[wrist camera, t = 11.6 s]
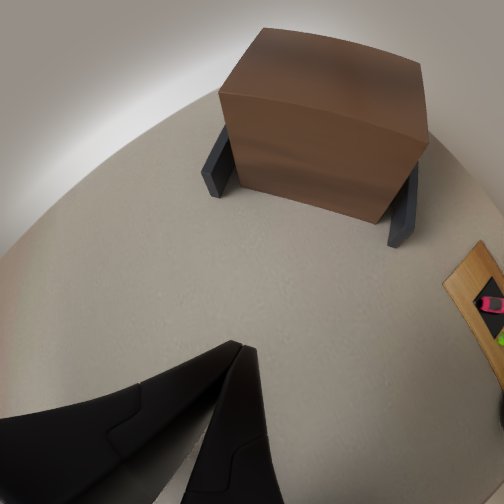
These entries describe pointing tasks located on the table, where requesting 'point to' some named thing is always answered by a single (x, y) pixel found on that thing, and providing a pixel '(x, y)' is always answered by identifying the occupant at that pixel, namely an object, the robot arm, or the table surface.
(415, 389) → the table surface
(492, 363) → the board
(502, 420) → the supplement bottle
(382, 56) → the walnut block
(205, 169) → the u-shaped frame
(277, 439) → the table surface
